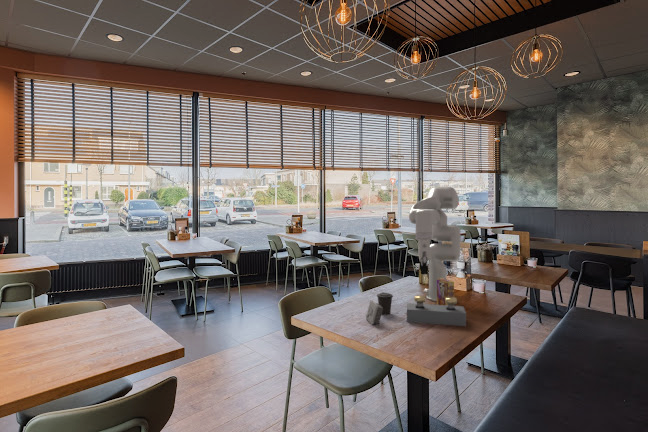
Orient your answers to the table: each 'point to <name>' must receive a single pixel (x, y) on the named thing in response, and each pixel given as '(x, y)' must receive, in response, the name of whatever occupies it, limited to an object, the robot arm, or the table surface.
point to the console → (436, 314)
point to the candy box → (444, 290)
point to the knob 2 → (451, 302)
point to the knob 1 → (419, 300)
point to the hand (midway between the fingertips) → (423, 272)
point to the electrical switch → (374, 313)
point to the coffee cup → (385, 302)
